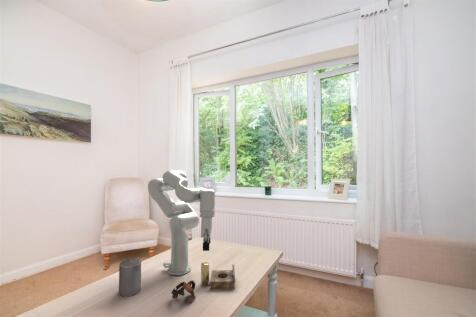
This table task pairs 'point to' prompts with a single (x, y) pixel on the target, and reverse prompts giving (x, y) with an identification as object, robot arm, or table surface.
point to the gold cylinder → (205, 274)
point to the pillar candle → (129, 277)
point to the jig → (223, 279)
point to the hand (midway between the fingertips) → (206, 246)
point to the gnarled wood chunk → (186, 287)
